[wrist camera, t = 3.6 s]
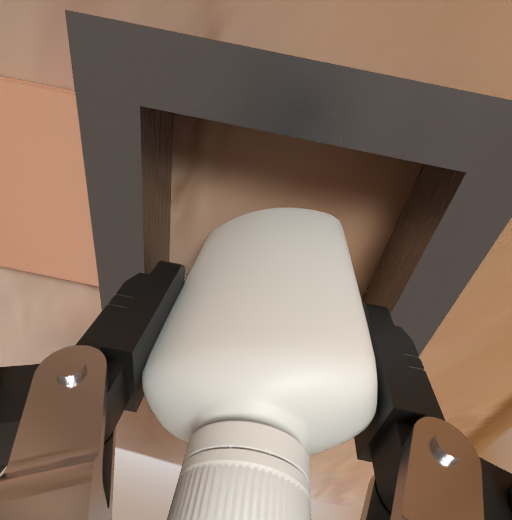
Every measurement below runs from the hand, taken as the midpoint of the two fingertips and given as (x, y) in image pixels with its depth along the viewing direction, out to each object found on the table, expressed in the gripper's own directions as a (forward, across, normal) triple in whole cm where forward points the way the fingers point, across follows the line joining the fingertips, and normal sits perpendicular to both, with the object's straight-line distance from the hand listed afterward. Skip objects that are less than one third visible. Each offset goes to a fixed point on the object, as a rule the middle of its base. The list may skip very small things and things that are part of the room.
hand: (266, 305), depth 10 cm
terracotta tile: (+5, +12, 0) cm, 14 cm away
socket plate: (+5, 0, 0) cm, 5 cm away
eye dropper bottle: (+4, 0, 0) cm, 4 cm away
